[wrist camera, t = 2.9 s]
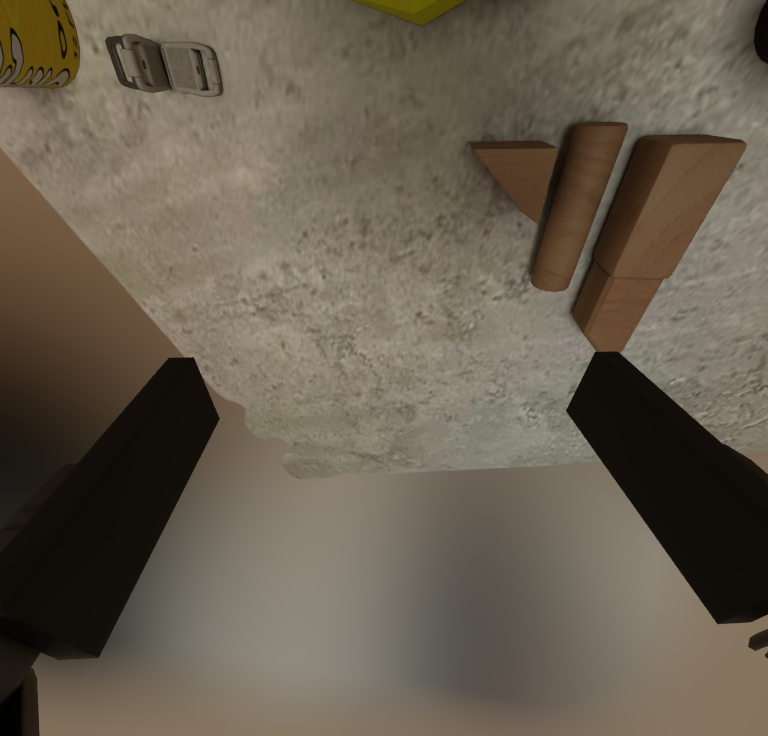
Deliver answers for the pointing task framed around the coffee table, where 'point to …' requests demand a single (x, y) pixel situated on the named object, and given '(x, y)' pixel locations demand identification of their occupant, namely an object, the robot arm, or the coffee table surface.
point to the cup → (762, 34)
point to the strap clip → (178, 61)
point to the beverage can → (37, 44)
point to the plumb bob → (412, 8)
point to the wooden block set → (614, 214)
